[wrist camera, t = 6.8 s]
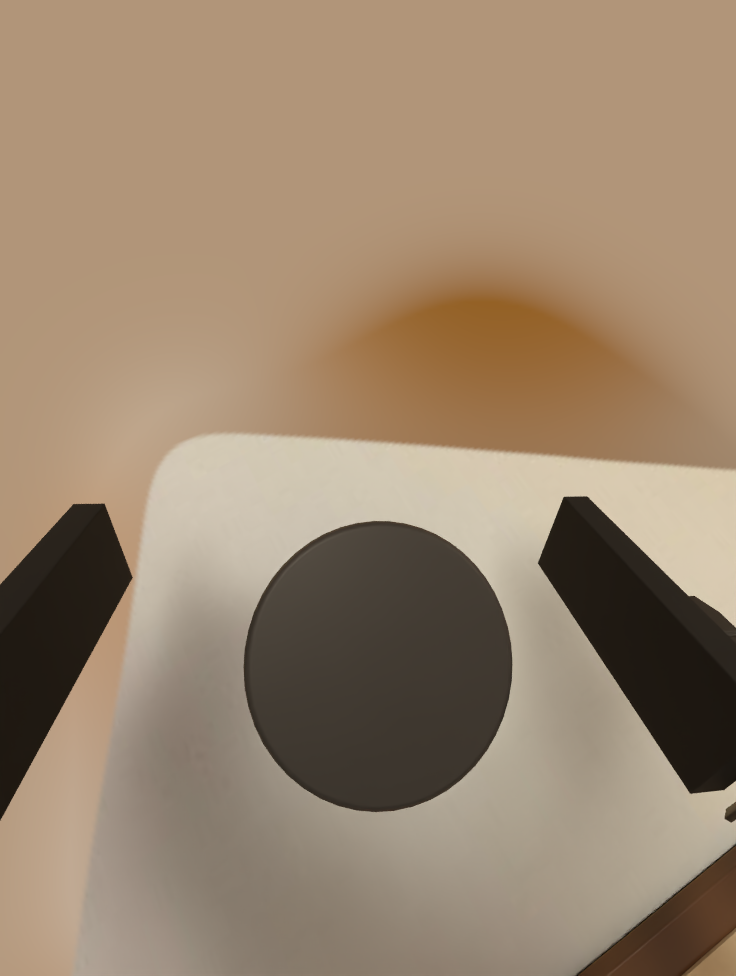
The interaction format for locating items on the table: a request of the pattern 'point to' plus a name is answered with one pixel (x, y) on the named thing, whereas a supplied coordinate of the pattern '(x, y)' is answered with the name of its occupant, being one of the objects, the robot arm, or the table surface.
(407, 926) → the table surface
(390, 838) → the table surface
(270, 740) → the disc
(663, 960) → the sketch board
